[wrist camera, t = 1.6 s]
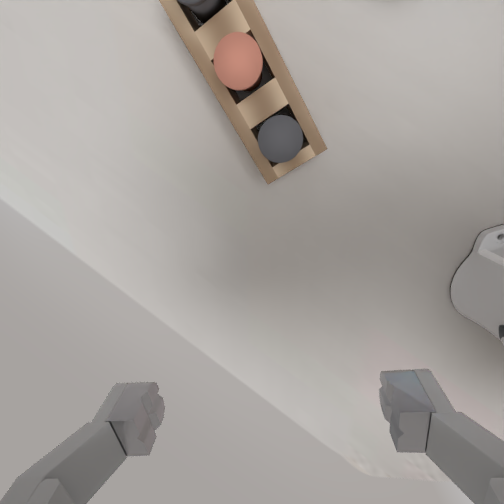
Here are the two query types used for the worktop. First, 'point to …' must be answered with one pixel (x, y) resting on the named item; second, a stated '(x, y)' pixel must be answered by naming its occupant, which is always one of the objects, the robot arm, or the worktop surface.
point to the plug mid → (238, 62)
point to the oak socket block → (261, 101)
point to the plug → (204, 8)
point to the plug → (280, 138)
